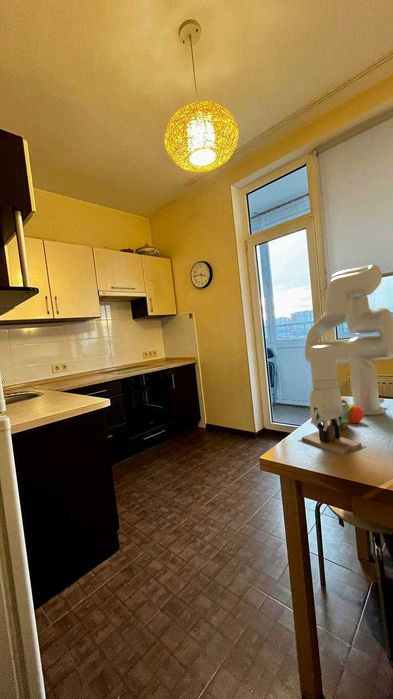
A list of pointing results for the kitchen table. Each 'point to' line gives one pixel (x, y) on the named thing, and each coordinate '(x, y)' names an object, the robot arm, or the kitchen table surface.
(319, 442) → the lid
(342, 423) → the food container
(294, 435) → the kitchen table surface
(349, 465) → the kitchen table surface
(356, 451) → the mat
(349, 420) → the clementine
